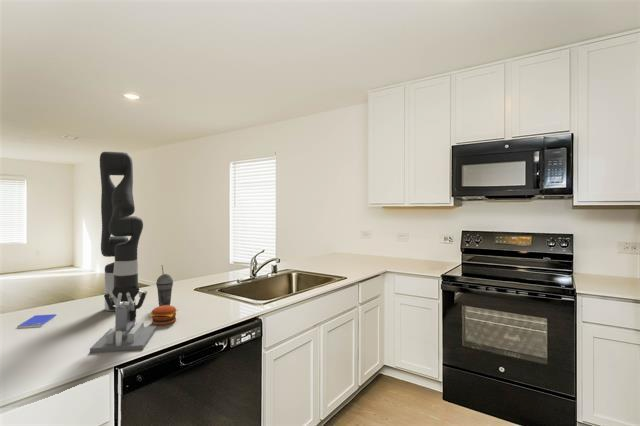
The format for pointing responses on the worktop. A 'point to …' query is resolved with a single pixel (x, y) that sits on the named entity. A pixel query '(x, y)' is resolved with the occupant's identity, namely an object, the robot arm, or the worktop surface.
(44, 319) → the hard drive
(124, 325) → the block
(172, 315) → the hamburger
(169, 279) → the beverage cup
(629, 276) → the worktop surface
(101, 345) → the dock
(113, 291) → the robot arm
